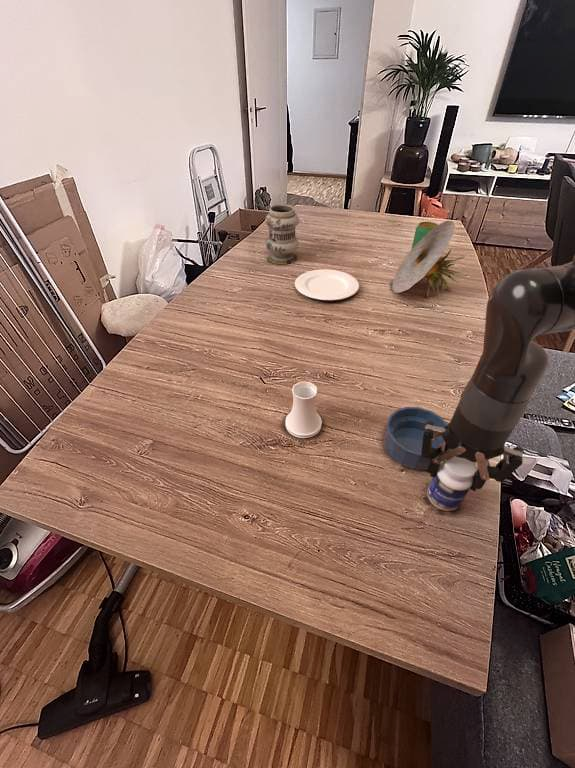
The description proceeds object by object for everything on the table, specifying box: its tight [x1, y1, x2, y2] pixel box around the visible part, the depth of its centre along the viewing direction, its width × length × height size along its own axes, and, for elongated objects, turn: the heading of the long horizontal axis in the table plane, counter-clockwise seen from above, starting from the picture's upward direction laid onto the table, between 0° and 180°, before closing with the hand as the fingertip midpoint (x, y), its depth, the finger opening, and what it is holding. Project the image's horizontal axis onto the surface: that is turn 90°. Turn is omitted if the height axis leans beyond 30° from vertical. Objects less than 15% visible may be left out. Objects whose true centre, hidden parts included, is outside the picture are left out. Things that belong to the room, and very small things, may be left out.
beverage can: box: [410, 221, 439, 251], centre depth 136 cm, size 8×8×12 cm
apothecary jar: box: [264, 203, 300, 265], centre depth 134 cm, size 12×12×18 cm
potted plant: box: [391, 220, 465, 298], centre depth 117 cm, size 25×18×25 cm
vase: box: [285, 381, 323, 439], centre depth 75 cm, size 8×8×10 cm
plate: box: [294, 268, 360, 302], centre depth 122 cm, size 21×21×2 cm
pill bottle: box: [426, 457, 477, 512], centre depth 62 cm, size 6×6×10 cm
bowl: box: [382, 406, 449, 471], centre depth 73 cm, size 12×12×5 cm
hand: (452, 479), depth 62 cm, fingers closed on pill bottle, 5 cm apart
